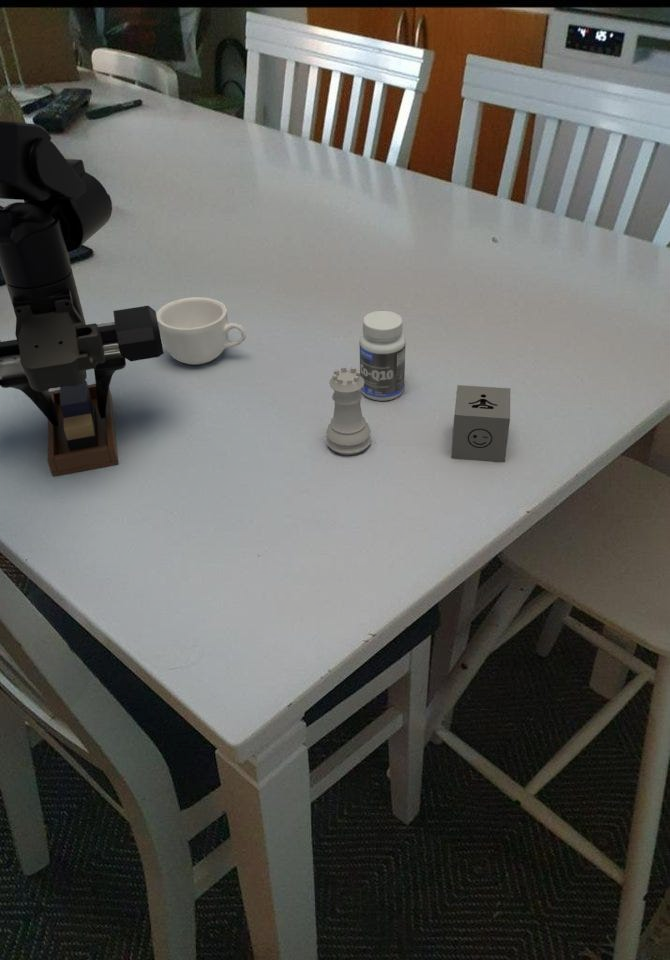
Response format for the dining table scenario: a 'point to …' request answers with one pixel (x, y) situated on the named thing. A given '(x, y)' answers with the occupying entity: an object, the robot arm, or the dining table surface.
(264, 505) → the dining table surface
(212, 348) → the teacup
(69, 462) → the tray
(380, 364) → the pill bottle
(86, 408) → the stacked boxes
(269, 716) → the dining table surface
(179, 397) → the dining table surface
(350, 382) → the rook chess piece
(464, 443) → the dice cube
